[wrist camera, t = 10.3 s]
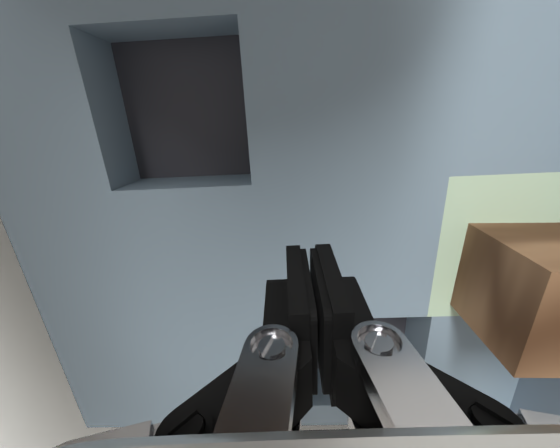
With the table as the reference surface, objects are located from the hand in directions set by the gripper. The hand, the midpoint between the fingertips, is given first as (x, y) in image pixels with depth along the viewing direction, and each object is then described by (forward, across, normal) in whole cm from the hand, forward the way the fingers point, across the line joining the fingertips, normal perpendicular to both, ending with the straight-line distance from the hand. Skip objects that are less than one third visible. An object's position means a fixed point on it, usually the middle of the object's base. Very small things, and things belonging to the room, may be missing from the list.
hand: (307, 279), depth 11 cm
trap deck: (+6, 0, +1) cm, 6 cm away
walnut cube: (+3, -10, +2) cm, 10 cm away
